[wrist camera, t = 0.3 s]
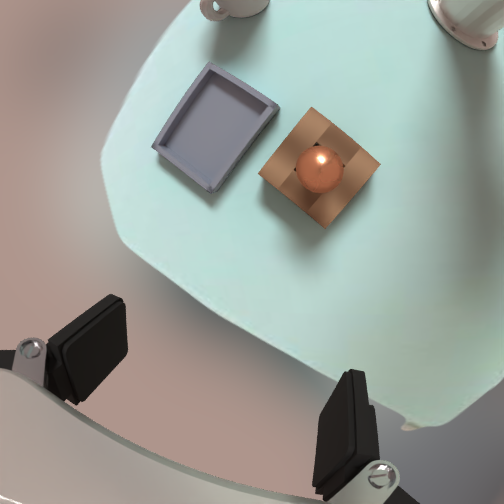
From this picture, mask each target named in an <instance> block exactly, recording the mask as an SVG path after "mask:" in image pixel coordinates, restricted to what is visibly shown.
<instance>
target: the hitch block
mask: <svg viewBox="0 0 504 504" xmlns="http://www.w3.org/2000/svg"><path fill="white" fill-rule="evenodd" d="M316 144H318V145H319V146H325V147H328V148H330V149H332V150H334V151H335V152H336V153H337V154H338V155H339V157H340V158H341V160H342V163H343V167H344V173H343V177H342V180H341V182H340V183H339V185H338V186H337V187H336V188H335V189H333V190H331V191H329V192H326V193H315V192H312V191H310V190H308V189H306V188H305V187H304V186H303V185H302V184H301V183H300V181H299V179H298V177H297V174H296V163H297V160H298V158H299V156H300V155H301V153H302V152H303V151H305V150H306V149H308V148H310V147H313V146H315V145H316ZM380 165H381V164H380V163H379V162H378V161H377V160H375V159H374V158H373V157H372V156H371V155H370V154H369V153H368V152H367V151H365V150H364V149H363V148H362V147H361V146H360V145H359V144H357V143H356V142H355V141H354V140H353V139H352V138H350V137H349V136H348V135H347V134H346V133H344V132H343V131H342V130H341V129H340V128H338V127H337V126H336V125H335V124H333V123H332V122H331V121H330V120H328V119H327V118H326V117H324V116H323V115H322V114H320V113H319V112H318V111H316V110H315V109H314V108H312V107H311V108H310V109H309V110H308V111H307V113H306V114H305V115H304V116H303V117H302V119H301V120H300V121H299V122H298V124H297V125H296V126H295V127H294V128H293V130H292V131H291V132H290V133H289V135H288V136H287V137H286V138H285V140H284V141H283V142H282V143H281V145H280V146H279V147H278V148H277V150H276V151H275V152H274V154H273V155H272V156H271V157H270V159H269V160H268V161H267V162H266V164H265V165H264V166H263V168H262V169H261V170H260V171H259V173H258V174H259V175H260V176H261V177H263V178H264V179H265V180H266V181H268V182H269V183H270V184H271V185H273V186H274V187H275V188H276V189H278V190H279V191H280V192H281V193H283V194H284V195H285V196H286V197H288V198H289V199H290V200H291V201H292V202H294V203H295V204H296V205H297V206H299V207H300V208H301V209H302V210H303V211H305V212H306V213H307V214H308V215H309V216H310V217H312V218H313V219H314V220H315V221H316V222H318V223H319V224H320V225H321V226H322V227H323V228H325V229H326V227H327V226H328V225H329V224H330V223H331V222H332V221H333V220H334V218H335V217H336V216H337V215H338V214H339V213H340V212H341V210H342V209H343V208H344V207H345V206H346V205H347V204H348V202H349V201H350V200H351V199H352V198H353V197H354V195H355V194H356V193H357V192H358V191H359V190H360V188H361V187H362V186H363V185H364V184H365V182H366V181H367V180H368V179H369V178H370V177H371V175H372V174H373V173H374V172H375V171H376V169H377V168H378V167H379V166H380Z"/></svg>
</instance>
